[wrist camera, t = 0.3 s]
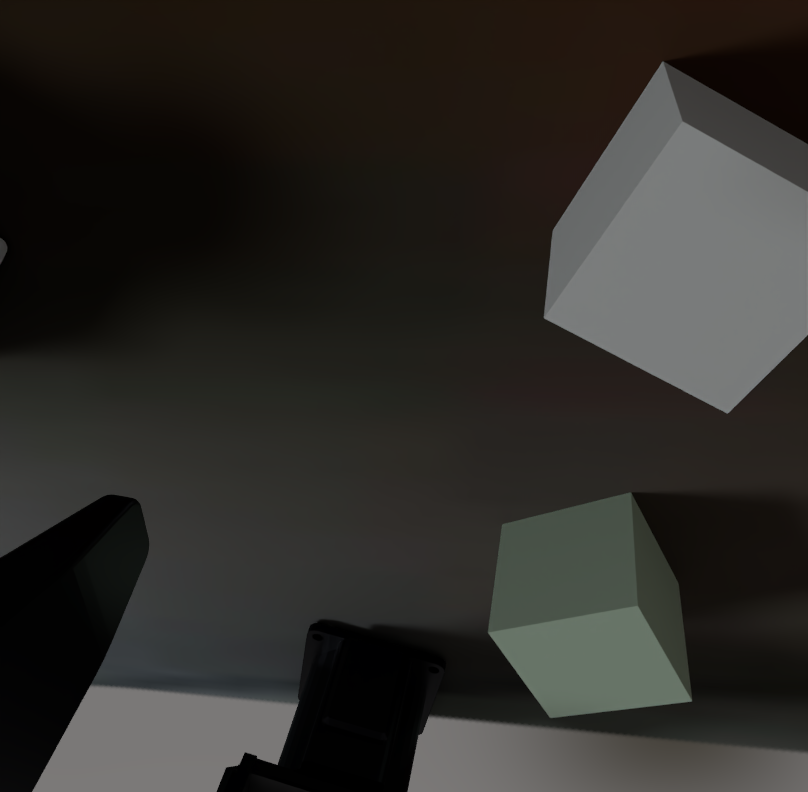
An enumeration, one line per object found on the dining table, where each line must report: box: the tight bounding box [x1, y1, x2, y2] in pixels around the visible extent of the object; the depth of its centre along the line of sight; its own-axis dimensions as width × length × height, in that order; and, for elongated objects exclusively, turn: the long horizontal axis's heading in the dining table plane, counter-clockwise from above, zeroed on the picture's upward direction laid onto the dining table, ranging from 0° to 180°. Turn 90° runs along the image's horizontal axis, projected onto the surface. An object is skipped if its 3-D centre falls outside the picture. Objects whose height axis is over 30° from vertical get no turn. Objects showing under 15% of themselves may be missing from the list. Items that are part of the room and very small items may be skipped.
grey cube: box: [544, 62, 808, 414], centre depth 18 cm, size 5×5×5 cm
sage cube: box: [488, 492, 692, 718], centre depth 26 cm, size 5×5×5 cm
